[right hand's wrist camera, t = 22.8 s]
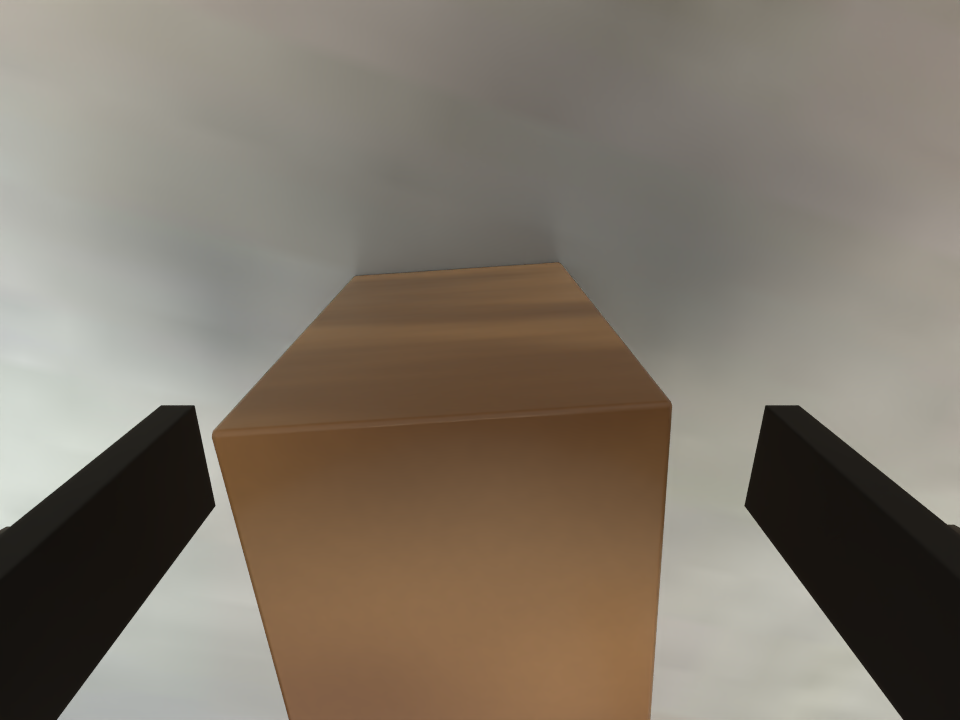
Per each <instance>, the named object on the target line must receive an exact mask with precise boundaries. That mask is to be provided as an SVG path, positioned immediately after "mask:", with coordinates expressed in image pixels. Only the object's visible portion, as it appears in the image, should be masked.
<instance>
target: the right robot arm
mask: <svg viewBox="0 0 960 720" xmlns="http://www.w3.org/2000/svg"><path fill="white" fill-rule="evenodd" d="M214 507H215V501H214V497H213V492H212V487H211V482H210V477H209V473H208V468H207V463H206V458H205V453H204V449H203V444H202V439H201V434H200V429H199V425H198V420H197V415H196V410H195V406H194V405H161V406H160V407H159V408H157V409H156V410H155V411H154V412H152V413H151V414H150V415H149V416H147V417H146V418H145V419H144V420H142V421H141V422H140V423H139V424H137V425H136V426H135V427H134V428H132V429H131V430H130V431H129V432H128V433H126V434H125V435H124V436H123V437H121V438H120V439H119V440H118V441H116V442H115V443H114V444H113V445H111V446H110V447H109V448H108V449H106V450H105V451H104V452H103V453H101V454H100V455H99V456H98V457H96V458H95V459H94V460H93V461H91V462H90V463H89V464H88V465H86V466H85V467H84V468H83V469H81V470H80V471H79V472H78V473H76V474H75V475H74V476H73V477H72V478H70V479H69V480H68V481H67V482H65V483H64V484H63V485H62V486H60V487H59V488H58V489H57V490H55V491H54V492H53V493H52V494H50V495H49V496H48V497H47V498H45V499H44V500H43V501H42V502H40V503H39V504H38V505H37V506H35V507H34V508H33V509H32V510H30V511H29V512H28V513H27V514H25V515H24V516H23V517H22V518H21V519H19V520H18V521H17V522H16V523H14V524H13V525H12V526H11V527H5V528H3V529H1V530H0V720H57V719H58V717H59V716H60V715H61V713H62V712H63V711H64V709H65V708H66V707H67V705H68V704H69V703H70V701H71V700H72V699H73V697H74V696H75V694H76V693H77V692H78V690H79V689H80V688H81V686H82V685H83V684H84V682H85V681H86V680H87V678H88V677H89V676H90V674H91V673H92V672H93V670H94V669H95V667H96V666H97V665H98V663H99V662H100V661H101V659H102V658H103V657H104V655H105V654H106V653H107V651H108V650H109V649H110V647H111V646H112V645H113V643H114V642H115V641H116V639H117V638H118V636H119V635H120V634H121V632H122V631H123V630H124V628H125V627H126V626H127V624H128V623H129V622H130V620H131V619H132V618H133V616H134V615H135V614H136V612H137V611H138V610H139V608H140V607H141V605H142V604H143V603H144V601H145V600H146V599H147V597H148V596H149V595H150V593H151V592H152V591H153V589H154V588H155V587H156V585H157V584H158V583H159V581H160V580H161V579H162V577H163V576H164V574H165V573H166V572H167V570H168V569H169V568H170V566H171V565H172V564H173V562H174V561H175V560H176V558H177V557H178V556H179V554H180V553H181V552H182V550H183V549H184V548H185V546H186V545H187V543H188V542H189V541H190V539H191V538H192V537H193V535H194V534H195V533H196V531H197V530H198V529H199V527H200V526H201V525H202V523H203V522H204V521H205V519H206V518H207V517H208V515H209V514H210V512H211V511H212V510H213V508H214ZM745 507H746V508H747V510H748V511H749V512H750V514H751V515H752V517H753V518H754V519H755V521H756V522H757V523H758V525H759V526H760V527H761V529H762V530H763V531H764V533H765V534H766V535H767V537H768V538H769V539H770V541H771V542H772V543H773V545H774V546H775V548H776V549H777V550H778V552H779V553H780V554H781V556H782V557H783V558H784V560H785V561H786V562H787V564H788V565H789V566H790V568H791V569H792V570H793V572H794V573H795V574H796V576H797V577H798V579H799V580H800V581H801V583H802V584H803V585H804V587H805V588H806V589H807V591H808V592H809V593H810V595H811V596H812V597H813V599H814V600H815V601H816V603H817V604H818V605H819V607H820V608H821V610H822V611H823V612H824V614H825V615H826V616H827V618H828V619H829V620H830V622H831V623H832V624H833V626H834V627H835V628H836V630H837V631H838V632H839V634H840V635H841V636H842V638H843V639H844V641H845V642H846V643H847V645H848V646H849V647H850V649H851V650H852V651H853V653H854V654H855V655H856V657H857V658H858V659H859V661H860V662H861V663H862V665H863V666H864V667H865V669H866V670H867V672H868V673H869V674H870V676H871V677H872V678H873V680H874V681H875V682H876V684H877V685H878V686H879V688H880V689H881V690H882V692H883V693H884V694H885V696H886V697H887V699H888V700H889V701H890V703H891V704H892V705H893V707H894V708H895V709H896V711H897V712H898V713H899V715H900V716H901V717H902V719H903V720H960V528H959V527H957V526H955V525H947V524H946V523H944V522H943V521H942V520H941V519H939V518H938V517H937V516H936V515H935V514H933V513H932V512H931V511H930V510H928V509H927V508H926V507H925V506H923V505H922V504H921V503H920V502H918V501H917V500H916V499H915V498H913V497H912V496H911V495H910V494H908V493H907V492H906V491H905V490H903V489H902V488H901V487H900V486H898V485H897V484H896V483H895V482H893V481H892V480H891V479H890V478H888V477H887V476H886V475H885V474H884V473H882V472H881V471H880V470H879V469H877V468H876V467H875V466H874V465H872V464H871V463H870V462H869V461H867V460H866V459H865V458H864V457H862V456H861V455H860V454H859V453H857V452H856V451H855V450H854V449H852V448H851V447H850V446H849V445H847V444H846V443H845V442H844V441H842V440H841V439H840V438H839V437H837V436H836V435H835V434H834V433H832V432H831V431H830V430H829V429H828V428H826V427H825V426H824V425H823V424H821V423H820V422H819V421H818V420H816V419H815V418H814V417H813V416H811V415H810V414H809V413H808V412H806V411H805V410H804V409H803V408H801V407H800V406H799V405H766V406H765V410H764V415H763V420H762V425H761V429H760V434H759V439H758V444H757V449H756V453H755V458H754V463H753V468H752V473H751V477H750V482H749V487H748V492H747V497H746V501H745Z"/></svg>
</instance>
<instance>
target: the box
mask: <svg viewBox="0 0 960 720" xmlns="http://www.w3.org/2000/svg"><path fill="white" fill-rule="evenodd" d="M671 415H672V404H671V401H670V400H669V399H668V398H667V396H666V395H665V394H664V393H663V391H662V390H661V389H660V388H659V386H658V385H657V384H656V383H655V381H654V380H653V379H652V377H651V376H650V375H649V374H648V372H647V371H646V370H645V369H644V367H643V366H642V365H641V364H640V362H639V361H638V360H637V359H636V357H635V356H634V355H633V354H632V352H631V351H630V350H629V349H628V347H627V346H626V345H625V344H624V342H623V341H622V340H621V339H620V337H619V336H618V335H617V334H616V332H615V331H614V330H613V329H612V327H611V326H610V325H609V324H608V322H607V321H606V320H605V318H604V317H603V316H602V315H601V313H600V312H599V311H598V310H597V308H596V307H595V306H594V305H593V303H592V302H591V301H590V300H589V298H588V297H587V296H586V295H585V293H584V292H583V291H582V290H581V288H580V287H579V286H578V285H577V283H576V282H575V281H574V280H573V278H572V277H571V276H570V275H569V273H568V272H567V271H566V270H565V268H564V267H563V266H562V264H561V263H543V264H528V265H513V266H498V267H483V268H468V269H453V270H438V271H423V272H408V273H393V274H378V275H363V276H355V277H353V278H352V279H351V281H350V282H349V283H348V284H347V285H346V286H345V287H344V288H343V289H342V290H341V291H340V293H339V294H338V295H337V296H336V297H335V298H334V299H333V300H332V301H331V302H330V304H329V305H328V306H327V307H326V308H325V309H324V310H323V311H322V312H321V313H320V314H319V316H318V317H317V318H316V319H315V320H314V321H313V322H312V323H311V324H310V325H309V327H308V328H307V329H306V330H305V331H304V332H303V333H302V334H301V335H300V336H299V337H298V339H297V340H296V341H295V342H294V343H293V344H292V345H291V346H290V347H289V348H288V349H287V351H286V352H285V353H284V354H283V355H282V356H281V357H280V358H279V359H278V360H277V362H276V363H275V364H274V365H273V366H272V367H271V368H270V369H269V370H268V371H267V372H266V374H265V375H264V376H263V377H262V378H261V379H260V380H259V381H258V382H257V383H256V385H255V386H254V387H253V388H252V389H251V390H250V391H249V392H248V393H247V394H246V395H245V397H244V398H243V399H242V400H241V401H240V402H239V403H238V404H237V405H236V406H235V407H234V409H233V410H232V411H231V412H230V413H229V414H228V415H227V416H226V417H225V418H224V420H223V421H222V422H221V423H220V424H219V425H218V426H217V427H216V428H215V429H214V430H213V433H212V439H213V443H214V447H215V450H216V454H217V458H218V461H219V465H220V469H221V472H222V476H223V480H224V483H225V487H226V491H227V494H228V498H229V502H230V505H231V509H232V513H233V516H234V520H235V523H236V527H237V531H238V534H239V538H240V542H241V545H242V549H243V553H244V556H245V560H246V564H247V567H248V571H249V575H250V578H251V582H252V586H253V589H254V593H255V597H256V600H257V604H258V608H259V611H260V615H261V619H262V622H263V626H264V630H265V633H266V637H267V641H268V644H269V648H270V652H271V655H272V659H273V663H274V666H275V670H276V674H277V677H278V681H279V685H280V688H281V692H282V695H283V699H284V703H285V706H286V710H287V714H288V717H289V720H650V715H651V701H652V686H653V672H654V658H655V643H656V629H657V615H658V601H659V586H660V572H661V558H662V544H663V529H664V515H665V501H666V487H667V472H668V458H669V444H670V429H671Z"/></svg>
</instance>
